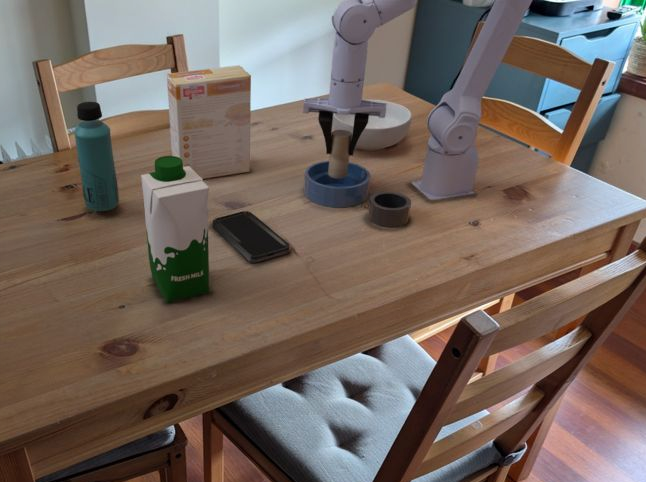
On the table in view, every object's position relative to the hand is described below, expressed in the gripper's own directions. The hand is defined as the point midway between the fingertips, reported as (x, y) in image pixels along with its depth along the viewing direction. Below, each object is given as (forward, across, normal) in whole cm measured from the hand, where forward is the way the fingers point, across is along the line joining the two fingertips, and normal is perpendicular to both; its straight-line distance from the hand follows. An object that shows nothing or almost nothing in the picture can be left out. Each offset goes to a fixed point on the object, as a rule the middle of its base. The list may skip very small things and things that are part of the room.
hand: (339, 152), depth 127 cm
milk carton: (+9, -22, -36) cm, 43 cm away
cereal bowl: (+9, +6, +26) cm, 28 cm away
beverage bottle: (+9, -42, -14) cm, 45 cm away
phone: (+9, -14, -19) cm, 25 cm away
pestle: (+4, 0, 0) cm, 4 cm away
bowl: (+9, 0, 0) cm, 9 cm away
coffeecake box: (+9, -26, +7) cm, 28 cm away
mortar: (+9, +10, -8) cm, 16 cm away
